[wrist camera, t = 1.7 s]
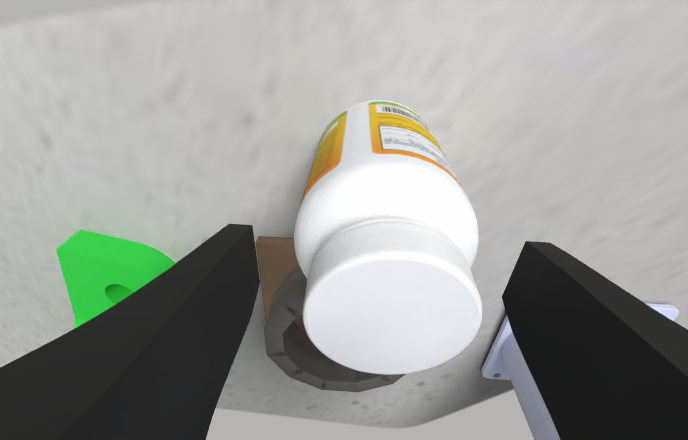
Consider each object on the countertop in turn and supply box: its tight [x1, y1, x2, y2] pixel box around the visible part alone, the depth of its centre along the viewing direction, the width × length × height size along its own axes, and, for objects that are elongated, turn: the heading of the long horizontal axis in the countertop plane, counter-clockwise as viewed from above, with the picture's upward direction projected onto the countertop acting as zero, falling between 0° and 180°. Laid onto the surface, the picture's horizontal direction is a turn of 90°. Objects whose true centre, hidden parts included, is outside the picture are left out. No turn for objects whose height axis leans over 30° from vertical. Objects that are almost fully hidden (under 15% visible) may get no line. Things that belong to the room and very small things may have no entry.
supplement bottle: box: [294, 100, 482, 375], centre depth 11 cm, size 5×5×10 cm
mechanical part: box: [56, 230, 175, 329], centre depth 19 cm, size 12×6×8 cm, turn 165°
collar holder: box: [256, 236, 405, 392], centre depth 20 cm, size 10×10×3 cm
